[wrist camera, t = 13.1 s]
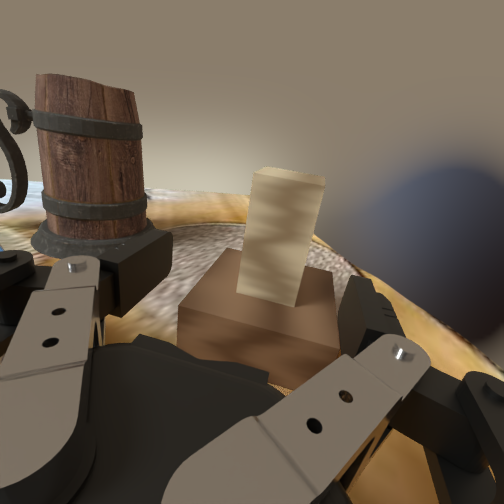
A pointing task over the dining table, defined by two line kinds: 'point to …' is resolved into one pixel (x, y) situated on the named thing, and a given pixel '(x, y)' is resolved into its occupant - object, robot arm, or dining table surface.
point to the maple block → (278, 233)
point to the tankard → (80, 165)
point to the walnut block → (261, 324)
